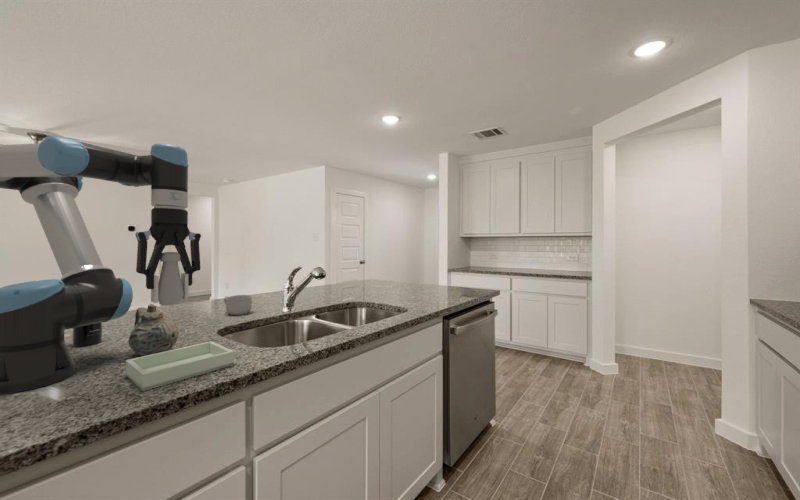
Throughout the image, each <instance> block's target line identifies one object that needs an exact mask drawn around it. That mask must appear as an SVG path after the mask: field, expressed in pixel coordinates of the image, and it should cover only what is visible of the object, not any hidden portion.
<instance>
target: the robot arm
mask: <svg viewBox="0 0 800 500" xmlns="http://www.w3.org/2000/svg"><path fill="white" fill-rule="evenodd" d="M189 166H190V165H189V161H188V152H187V151H186V149H185V148H183V147H181V146H178V145H174V144H167V143H154V144H153V145H151V147H150V153H149V154H147V155H145V154H144V155H137V154H134V153H133V154H132V153H129V152H125V151H122V150H115V149H112V148H108V147H103V146H100V145H99V146H98V145H95V144H90V143H87V142H83V141H79V140H76V139H74V138H67V137H61V136H56V135H52V136H47V137H45V139H43V140H42V141H40V142H39V143H19V144H1V143H0V189H2V190H3V189H6V190H14V191H18V192H19V193H20V196H21V198H22V200H23V201H24V202H25V203H28V204H29V205H33V208H34V210H35V213H36V215H37V219H38V220H39V223H40V225H41V227H42V229H43V233H44V235H45V237H46V240H47V242H48V244H49V246H50V249H51V252H52V253H53V257H54V259H55V261H56V264H57V266H58V268H59V271H60V273H61V275H62V276H61V278H60V279H56V278H55V279H54V278H53V279H41V280H32V281H26V282H25V281H24V282H18V283H14V284H10V285H6V286H3V287H0V395H4V394H5V395H6V394H13V393H19V392H23V391H29V390H33V389H38V388H42V387H45V386H49V385H52V384H56V383H58V382H60V381H63V380H65V379H68V378H69V377H71V376H73V375H74V374H75V372H76V369H75V368H76V363H75V361H74V359H73V357H72V355H71V352H70V351H69V349H68V347H67V345H66V342H65V341H66V340H65V330H69V329H73V328H75V327H80V326H85V325H90V324H95V323H100V322H102V323H106V322H110V321H112V320H116V319H119V318H122V317H123V316H125V314H127V313H128V312H129V309H130V308H131V307H132V303H133V297H134V293H133V292H134V291H133V288H132V286H131V283H130V282H129V281H128V280H126V279H125V278H121V277H116V276H115V274H114V271H113V269H112V268H110V267H106V266H104V265H103V263H102V260H101V258H100V255H99V254H98V251H97V249H96V246H95V243H94V242H93V239H92V237H91V234H90V232H89V230H88V228H87V225H86V223H85V221H84V219H83V216H82V214H81V211H80V210H79V207H78V204H77V202H76V200H75V199H76V198H78V196H79V193H80V191H81V190H82V188H83V185H84V182H83V181H82V180H83V179H84V178H88V179H96V180H101V181H106V182H113V183H119V184H120V185H122V186H125V187H126V186H127V187H134V188H136V187H137V188H138V187H147V186H150V187H151V188H150V190H151V191H150V194H151V195H150V205H151V206H152V207H154V208H152V209H150V211H151V212H150V213H151V214H150V216H151V218H150V219H151V220H150V221H151V225H150V228H149V229H148V230H145V231H137V232H135V237H136V240H137V250H136V251H137V253H136V267H135V268H136V269H135V270H136V274H140V275H144V276H145V288H146V289H147V290H150V302H151V303H154V304H156V303H159V301H158V283H159V275H156V272H157V271H156V270H157V268H158V266H159V262H160V257H161V255H162V253H164V249H166V246H167V247H168V246H174V248H175V249H176V252H177V253H179V254H180V257H181V258H180V261H179V262H180V263H181V265H182V269H183V271H184V273H183V272H182V273H181V272H180V277H181V282H182V287H183V291H184V295H183V297H182V299H183V300H189V287H190V286H193V274H194V273H195V272H197V271H200V270H201V256H200V255H201V253H200V240H201V237H202V235H201V233H199V232H198V233H195V232H192V231H190V229H189V227H188V226H189V225H188V224H189V218H188V217H189V214H188V213H189V212H188V210H186V209H187V208H188V207H189V206H188V204H189V202H188V201H189V200H188V198H189V196H188V195H189V193H188V192H189V191H188V189H189V187H188V186H189V184H188V181H189V178H188V177H189V176H188V175H189V172H188V171H189V169H188V168H189ZM150 236H151V237H152V238H153V239H154V240H155V243H154V247H153V250H152V254H151V256H150V259H149V261H148V264H147V254H148V240H149V239H150ZM187 238H188V239H189V240H190V242H189V245H190V258H189V255H188V252H187V249H186V245H185V242H184V241H185V240H186V239H187ZM190 260H191V261H190ZM182 299H181V300H182Z"/></svg>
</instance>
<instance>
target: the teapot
mask: <svg viewBox="0 0 800 500" xmlns="http://www.w3.org/2000/svg"><path fill="white" fill-rule="evenodd" d="M157 308H158V306H157V305H155V304H153V303H150V304H148V305H147V308H145V307H142V306H141V307H138V308H137V309H136V312H135V315H134V316H135V318H134V328H133V329H132V331H131V332H130V335H129V337H128V338H129V339H128V345H129V348H130V349H131V350H132V351H134V352H135V353H136V354H137V355H138V356H140V357H142V356H147V355H151V354H156V353H160V352H165V351H169V350H173V347H174V346H175V344H176V343H177V341H178V339H179V328H178V326H176V323H174V322H173V321H171V320H166V319H165V318H164V317H165V314H164V312H163V311H162V310H158V309H157Z"/></svg>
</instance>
